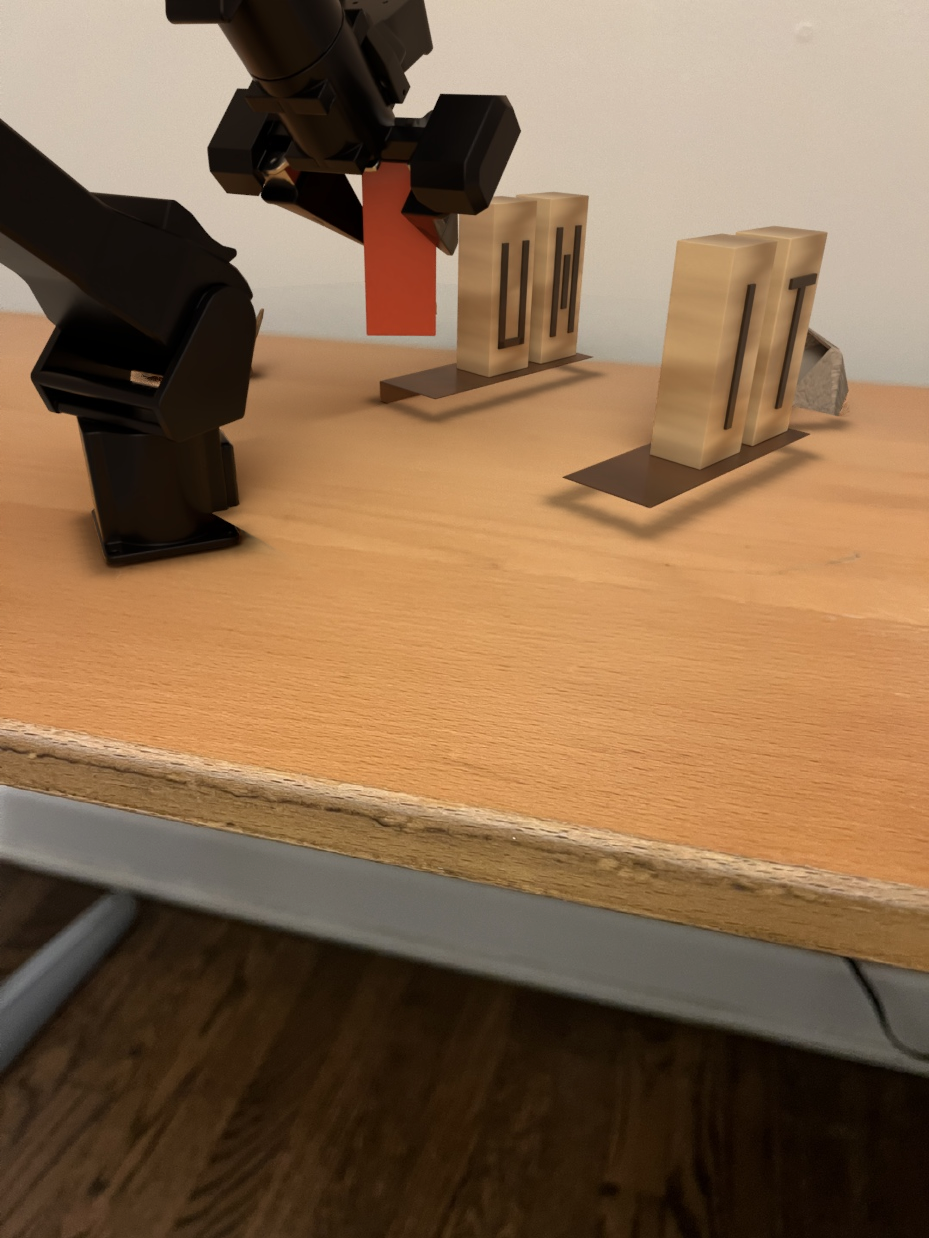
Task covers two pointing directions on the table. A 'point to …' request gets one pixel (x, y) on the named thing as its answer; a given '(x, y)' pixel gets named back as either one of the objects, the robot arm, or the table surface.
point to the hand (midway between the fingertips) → (411, 245)
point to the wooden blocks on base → (511, 295)
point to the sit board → (723, 362)
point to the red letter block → (396, 259)
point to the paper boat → (821, 376)
